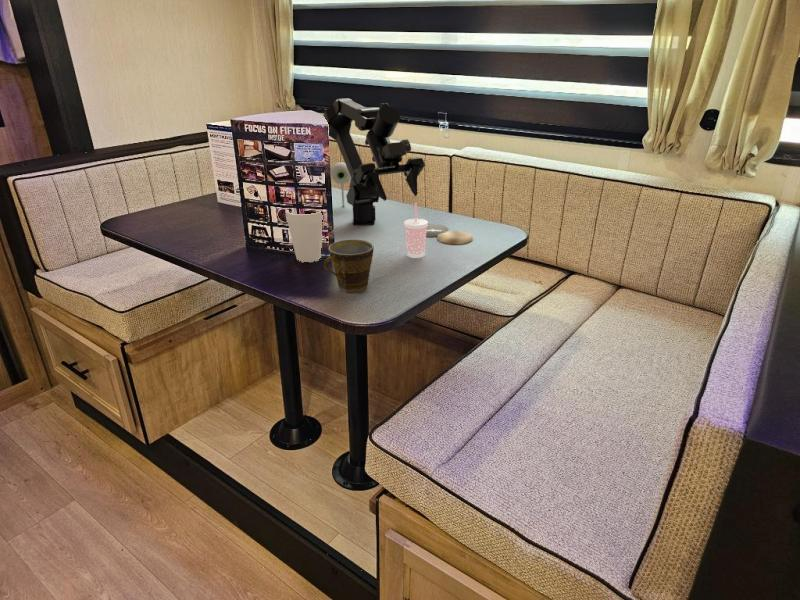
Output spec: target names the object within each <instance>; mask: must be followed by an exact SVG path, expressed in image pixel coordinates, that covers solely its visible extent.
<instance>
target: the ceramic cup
mask: <svg viewBox="0 0 800 600" xmlns="http://www.w3.org/2000/svg"><path fill="white" fill-rule="evenodd" d="M327 248H328V254H329V256H328V257H326V259H324V263H323V267H324V269H325V270H326V271H327V272H329V273H331V274H332V275H333V276H334V277H336V284H337V286H338V291H339V292H341V293H344V294H346V295H347V294H348V295H353V294H360V293H362V292H363V293H364V291H366V290H368V287H369V279H370V271H371V270H370V269H371V266H372V261H373V256H374V248H375V247H374V244H373V243H371V241H367V240H363V239H344V240H339V241H335V242H333V243H331V244H330V245H329V246H328V247H327ZM330 261H331V265H332V267H333V269H334V270H333V271H332V270H330V269H328V267H327V266H328V265H327V264H328V263H329V262H330Z"/></svg>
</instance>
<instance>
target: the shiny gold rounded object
mask: <svg viewBox="0 0 800 600" xmlns="http://www.w3.org/2000/svg"><path fill="white" fill-rule="evenodd" d="M436 239H437V241H438V240H439V242H440V243H442V242H443V244H446V243H447V244H448V245H464V244H468V242H469V243H471V242H472V241H473V235H472V234H471V233H469V232H466V231H462V230H448V231H447V232H443V233H442V234H441V233H440V234H438V235H437V237H436ZM470 241H471V242H470ZM447 244H446V245H447Z"/></svg>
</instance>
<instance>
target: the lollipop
mask: <svg viewBox="0 0 800 600" xmlns="http://www.w3.org/2000/svg"><path fill="white" fill-rule="evenodd" d="M330 176H331V179H332V180H333V181H334V182H335V183H336V184H338V185H341V201H342V207H343V206H345V194H344V193H345V192H344V191H345V190H344V185H345V184H347V183H350V181H351V176H350V173H349V171H348V169H347V166H346V164H345V161H344V162H342V161H341V162H340V161H339V162H336V163H334V164H333V166H332V168H331V170H330Z"/></svg>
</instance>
